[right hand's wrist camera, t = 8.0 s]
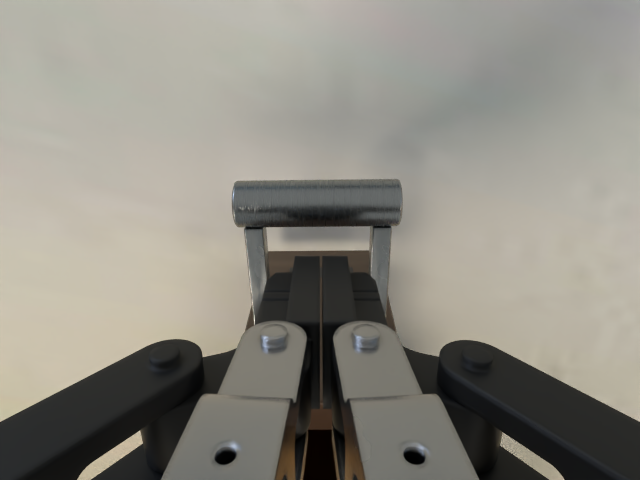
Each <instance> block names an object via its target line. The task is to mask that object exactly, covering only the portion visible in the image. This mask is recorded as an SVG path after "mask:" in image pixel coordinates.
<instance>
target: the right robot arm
mask: <svg viewBox="0 0 640 480" xmlns="http://www.w3.org/2000/svg"><path fill="white" fill-rule="evenodd" d="M322 370H323V409H332V444H333V452H334V460H335V468H336V476H337V480H549V479H547V478H546V477H544V476H543V475H541V474H540V473H539V472H537V471H536V470H534V469H533V468H531V467H530V466H528V465H527V464H526V463H524V462H523V461H521V460H520V459H518V458H517V457H516V456H514V455H513V454H511V453H510V452H508V451H507V450H505V449H504V448H503V447H501V446H500V442H501V437H502V432H503V433H505V434H506V435H508V436H509V437H511V438H512V439H514V440H516V441H517V442H519V443H520V444H522V445H523V446H525V447H526V448H528V449H529V450H531V451H532V452H534V453H535V454H537V455H538V456H540V457H541V458H543V459H544V460H546V461H547V462H549V463H550V464H551V465H553V466H554V467H555V468H556V469H557V470H558V471H559V472H560V473H561V475H562V476H563V478H564V479H565V480H640V422H639V421H637V420H635V419H633V418H631V417H629V416H627V415H625V414H623V413H621V412H619V411H617V410H615V409H613V408H611V407H610V406H608V405H606V404H604V403H602V402H600V401H598V400H596V399H594V398H592V397H590V396H588V395H586V394H584V393H582V392H581V391H579V390H577V389H575V388H573V387H571V386H569V385H567V384H565V383H563V382H561V381H559V380H557V379H555V378H553V377H551V376H550V375H548V374H546V373H544V372H542V371H540V370H538V369H536V368H534V367H532V366H530V365H528V364H526V363H524V362H522V361H521V360H519V359H517V358H515V357H513V356H511V355H509V354H507V353H505V352H503V351H501V350H499V349H497V348H495V347H493V346H491V345H488V344H485V343H482V342H478V341H471V340H459V341H454V342H450V343H448V344H446V345H445V346H444V347H443V348H442V349H441V351H440V355H439V357H437V356H432V355H427V354H422V353H418V352H415V351H412V350H409V349H407V348H405V347H403V346H402V344H401V342H400V340H399V337H398V335H397V334H396V333H395V332H394V331H393V330H392V329H391V328H389V327H388V325H387V321H386V318H385V314H384V310H383V306H382V303H381V301H380V295H379V292H378V288H377V284H376V280H374V279H373V278H372V277H371V276H370V275H369V274H368V273H366V272H350V270H349V263H348V257H347V256H322ZM311 409H320V256H295V258H294V265H293V272H276V273H275V274H274V275H272V276H271V277H270V278H269V279H268V280H267V281H266V285H265V289H264V293H263V297H262V301H261V305H260V309H259V312H258V316H257V320H256V324H255V325H254V326H252V327H251V328H249V329H248V330H247V331H246V332H245V333H244V334H243V335H242V337H241V340H240V342H239V344H238V347H237V348H236V349H234V350H231V351H229V352H225V353H221V354H217V355H212V356H207V357H202V351H201V349H200V347H199V346H198V345H196V344H195V343H193V342H191V341H187V340H181V339H173V340H165V341H160V342H157V343H154V344H151V345H149V346H147V347H145V348H143V349H141V350H139V351H137V352H135V353H133V354H131V355H129V356H127V357H125V358H123V359H121V360H119V361H118V362H116V363H114V364H112V365H110V366H108V367H106V368H104V369H102V370H100V371H98V372H96V373H94V374H92V375H90V376H89V377H87V378H85V379H83V380H81V381H79V382H77V383H75V384H73V385H71V386H69V387H67V388H65V389H63V390H61V391H60V392H58V393H56V394H54V395H52V396H50V397H48V398H46V399H44V400H42V401H40V402H38V403H36V404H34V405H32V406H30V407H29V408H27V409H25V410H23V411H21V412H19V413H17V414H15V415H13V416H11V417H9V418H7V419H5V420H3V421H1V422H0V480H77V479H78V477H79V475H80V474H81V473H82V471H83V470H84V469H85V468H86V467H87V466H88V465H89V464H90V463H92V462H93V461H94V460H96V459H97V458H99V457H100V456H102V455H103V454H105V453H106V452H108V451H109V450H111V449H112V448H114V447H116V446H117V445H119V444H120V443H122V442H123V441H125V440H126V439H128V438H129V437H131V436H132V435H134V434H135V433H137V432H138V431H141V435H142V440H143V444H142V445H140V446H139V447H137V448H136V449H135V450H133V451H132V452H130V453H129V454H127V455H126V456H124V457H123V458H122V459H120V460H119V461H117V462H116V463H114V464H113V465H112V466H110V467H109V468H107V469H106V470H104V471H103V472H101V473H100V474H99V475H97V476H96V477H94V478H93V479H91V480H303V475H304V468H305V460H306V452H307V444H308V428H309V425H310V422H311Z"/></svg>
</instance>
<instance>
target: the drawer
mask: <svg viewBox="0 0 640 480" xmlns="http://www.w3.org/2000/svg"><path fill="white" fill-rule="evenodd" d="M402 206H403V198H402V187H401V183H400V181H399V180H398V179H365V180H278V181H237V182H235V184H234V187H233V192H232V212H233V218H234V222H235V224H236V226H237V227H245V229H244V234H245V243H246V253H247V262H248V272H249V281H250V291H251V300H252V306H251V310H250V314H249V318H248V322H247V325H246V329H245V332H246V331H247V330H248V329H249V328H251V327H252V326H254V325H255V324H256V320H257V316H258V312H259V309H260V305H261V301H262V297H263V293H264V289H265V285H266V281H267V280H268V279H269V278H270V277H271V276H272V275H274V274H275V273H276V272H293V265H294V258H295V256H320V409H311V422H310V425H309V428H308V444H307V452H306V460H305V468H304V475H303V480H337V476H336V468H335V460H334V452H333V444H332V409H323V370H322V256H347V257H348V263H349V270H350V272H366V273H368V274H369V275H370V276H371V277H372V278H373V279H374V280H376V284H377V288H378V292H379V295H380V301H381V303H382V306H383V310H384V314H385V318H386V321H387V325H388V327H389V328H391V329H392V330H393V331H394V332H395V333H396V334H397V332H396V328H395V324H394V319H393V315H392V311H391V307H390V302H389V298H388V279H389V264H390V249H391V234H392V228H391V226H397V225H399V224H400V221H401V217H402ZM330 226H370V247H369V251H268V246H267V233H266V227H330Z"/></svg>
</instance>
